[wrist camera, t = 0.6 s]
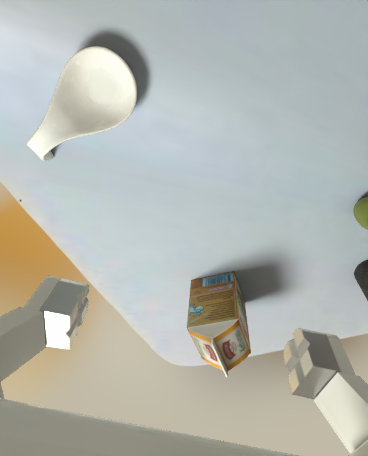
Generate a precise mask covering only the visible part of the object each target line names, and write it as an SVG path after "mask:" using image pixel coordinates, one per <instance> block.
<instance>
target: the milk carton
mask: <svg viewBox="0 0 368 456" xmlns="http://www.w3.org/2000/svg"><path fill="white" fill-rule="evenodd" d="M187 329H188V331H189V333H190V335H191V337H192V339H193V341H194V343H195V345H196V347H197V349H198V351H199V353H200V355H201V357H202V358H203V360H205V361H206V362H207V363H208V364H210V365H212V366H214V367H216V368H219V369H221V370H223V371H224V373H225V375H226V377H228V371H229V370H230V369H232V368H233V367H235V366H236V365H238V364H239V363H240V362H241V361H242V360H244V359H245V358H246V357H247V356H248V355H249V354H250V353H251V350H250V342H249V334H248V326H247V317H246V309H245V302H244V299H243V296H242V293H241V290H240V288H239V285H238V282H237V279H236V276H235V273H234V271H233V272H228V273H224V274H219V275H214V276H209V277H205V278H200V279H195V280H191V288H190V299H189V310H188V321H187Z"/></svg>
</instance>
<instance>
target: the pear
mask: <svg viewBox="0 0 368 456" xmlns="http://www.w3.org/2000/svg"><path fill="white" fill-rule="evenodd" d="M354 216H355V218H356V220H357V221H358V223H359V224H360V225H361V226H362V227H364V228H365V229H368V197H365V198H362V199H361V200H359V201H358V202H357V203H356V204H355V206H354Z"/></svg>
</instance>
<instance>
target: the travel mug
mask: <svg viewBox="0 0 368 456" xmlns="http://www.w3.org/2000/svg"><path fill="white" fill-rule="evenodd" d="M354 275H355V278H356V280H357V282H358V284H359V286H360V288H361V289H362V291H363V293H364V295H365V297H366V298H367V300H368V260H366V261H364V262H362V263H361V264H359V265H358V266H357V268H356V269H355V272H354Z"/></svg>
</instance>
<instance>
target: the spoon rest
mask: <svg viewBox="0 0 368 456" xmlns="http://www.w3.org/2000/svg"><path fill="white" fill-rule="evenodd" d="M136 101H137V85H136V81H135V78H134V75H133V73H132V71H131V69H130V68H129V66H128V65H127V63H126V62H125V61H124V60H123V59H122V58H121V57H120V56H119V55H118V54H116V53H115V52H113V51H112V50H110V49H108V48H105V47H100V46H92V47H87V48H85V49H82V50H80V51H78V52H77V53H75V54H74V55H73V56H72V57H71V58H70V60H69V61H68V62H67V64H66V65H65V67H64V69H63V71H62V73H61V75H60V78H59V81H58V83H57V86H56V89H55V92H54V95H53V98H52V101H51V103H50V106H49V109H48V111H47V114H46V116H45V118H44V120H43V122H42V124H41V125H40V127H39V128H38V130H37V131H36V132H35V134H34V135H33V136H32V138H31V139H30V141H29V142H28V143H27V145H28V146H29V147H30V148H31V149H32V150H33V151H35V152H36V154H37V155H38V156H39V157H40V158H41V159H42V160H44V161H47V160H50V159H52V158H53V154H52V152H51V151H50V150H51V149H53V148H54V147H55V146H57V145H58V144H60V143H62V142H64V141H66V140H69V139H72V138H76V137H80V136H85V135H90V134H95V133H99V132H103V131H106V130H109V129H112V128H114V127H117V126H118V125H120V124H122V123H123V122H124V121H126V120H127V119H128V118H129V116H130V115H131V114H132V112H133V110H134V107H135V105H136Z"/></svg>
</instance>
